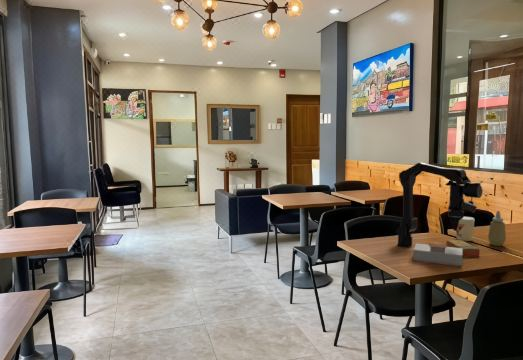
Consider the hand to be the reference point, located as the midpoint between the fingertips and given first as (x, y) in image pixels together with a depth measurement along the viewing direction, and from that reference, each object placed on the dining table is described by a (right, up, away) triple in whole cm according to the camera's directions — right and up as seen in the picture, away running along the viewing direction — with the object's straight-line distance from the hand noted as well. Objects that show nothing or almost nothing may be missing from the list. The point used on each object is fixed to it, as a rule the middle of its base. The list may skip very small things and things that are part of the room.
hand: (454, 228), depth 183 cm
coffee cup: (+22, -10, +33) cm, 41 cm away
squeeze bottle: (+32, -12, +21) cm, 40 cm away
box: (-10, -14, -3) cm, 17 cm away
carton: (+8, -13, +9) cm, 18 cm away
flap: (-10, -10, -4) cm, 14 cm away
